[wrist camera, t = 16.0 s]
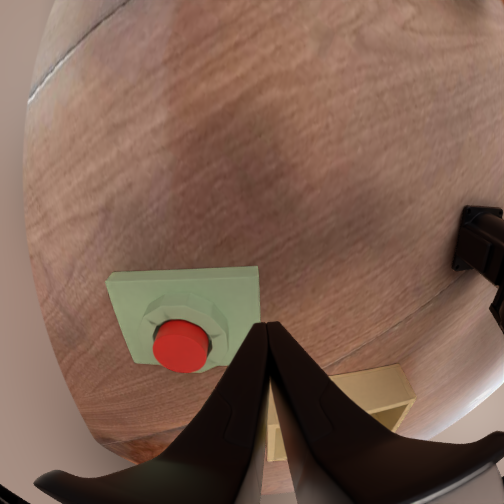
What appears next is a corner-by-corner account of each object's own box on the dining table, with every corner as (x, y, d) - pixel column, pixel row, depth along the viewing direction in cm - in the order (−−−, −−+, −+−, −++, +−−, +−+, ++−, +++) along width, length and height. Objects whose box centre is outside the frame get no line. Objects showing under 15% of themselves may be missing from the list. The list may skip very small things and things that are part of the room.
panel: (257, 265, 21) (260, 289, 18) (260, 351, 25) (263, 379, 22) (112, 271, 21) (95, 293, 18) (138, 351, 25) (129, 376, 22)
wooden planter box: (398, 362, 27) (417, 397, 22) (377, 408, 31) (389, 439, 26) (263, 382, 27) (267, 425, 22) (264, 426, 31) (267, 461, 26)
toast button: (204, 318, 20) (201, 334, 18) (211, 357, 21) (210, 373, 20) (152, 319, 19) (146, 333, 18) (164, 357, 21) (159, 372, 20)
